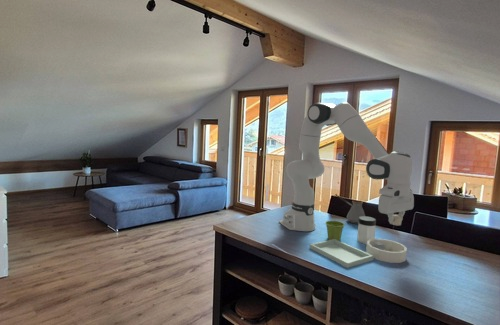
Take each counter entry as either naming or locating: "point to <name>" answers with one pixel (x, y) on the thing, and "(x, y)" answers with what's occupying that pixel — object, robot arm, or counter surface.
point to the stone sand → (397, 220)
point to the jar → (366, 229)
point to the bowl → (387, 251)
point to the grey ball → (379, 245)
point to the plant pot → (334, 229)
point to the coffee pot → (354, 211)
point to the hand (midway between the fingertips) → (395, 221)
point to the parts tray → (341, 253)
